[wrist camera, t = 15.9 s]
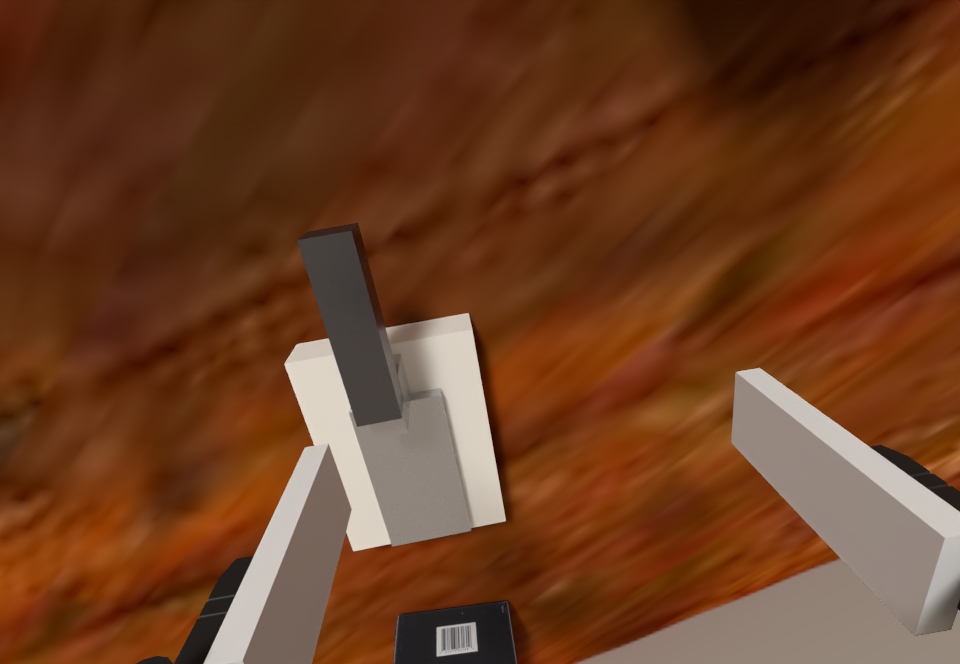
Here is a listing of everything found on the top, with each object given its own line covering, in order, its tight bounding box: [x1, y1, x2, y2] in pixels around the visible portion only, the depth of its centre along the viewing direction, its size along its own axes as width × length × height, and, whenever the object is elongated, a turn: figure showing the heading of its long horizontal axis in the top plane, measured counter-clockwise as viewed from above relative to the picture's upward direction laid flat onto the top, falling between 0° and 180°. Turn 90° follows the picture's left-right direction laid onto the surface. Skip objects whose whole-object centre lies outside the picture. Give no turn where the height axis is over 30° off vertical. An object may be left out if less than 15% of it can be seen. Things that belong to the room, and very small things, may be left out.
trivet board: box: [285, 313, 506, 551], centre depth 34 cm, size 16×12×3 cm
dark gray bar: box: [297, 223, 471, 547], centre depth 28 cm, size 24×6×6 cm, turn 9°
